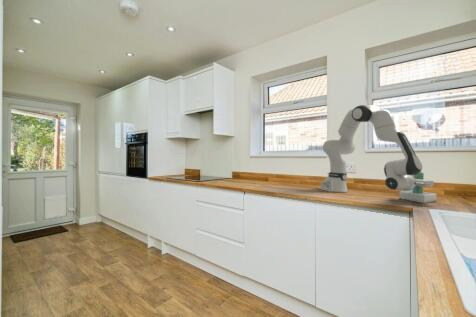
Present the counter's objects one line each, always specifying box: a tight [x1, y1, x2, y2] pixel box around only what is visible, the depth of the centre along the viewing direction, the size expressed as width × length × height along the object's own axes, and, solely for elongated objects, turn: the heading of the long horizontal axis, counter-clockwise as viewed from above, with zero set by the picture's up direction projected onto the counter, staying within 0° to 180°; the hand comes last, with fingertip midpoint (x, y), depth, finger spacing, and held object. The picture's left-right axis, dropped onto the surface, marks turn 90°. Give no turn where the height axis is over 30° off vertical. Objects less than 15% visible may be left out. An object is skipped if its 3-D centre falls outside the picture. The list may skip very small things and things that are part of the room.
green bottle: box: [413, 169, 425, 194], centre depth 145 cm, size 5×5×15 cm
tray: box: [398, 190, 438, 204], centre depth 146 cm, size 14×14×4 cm
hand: (419, 181), depth 146 cm, fingers closed on green bottle, 5 cm apart
